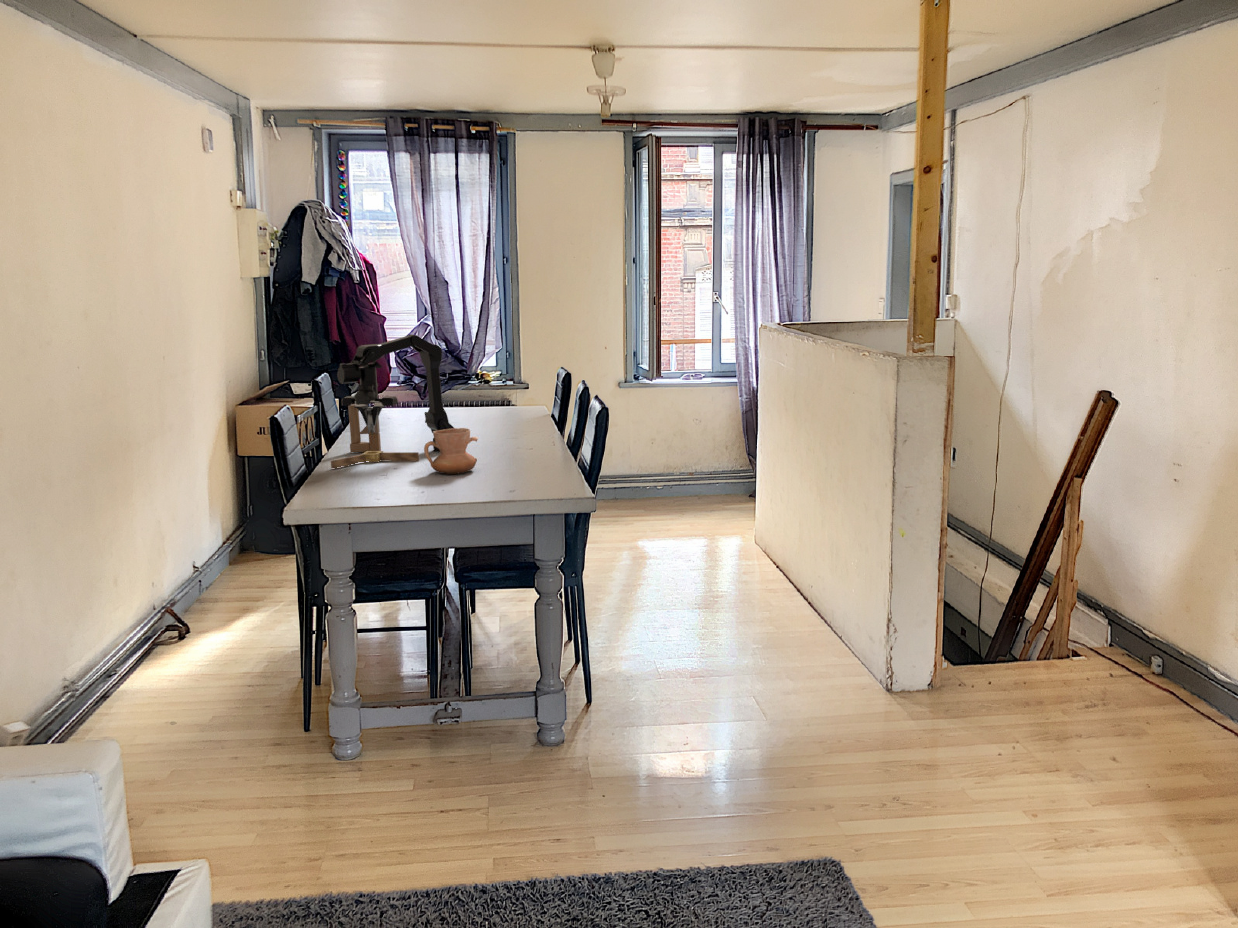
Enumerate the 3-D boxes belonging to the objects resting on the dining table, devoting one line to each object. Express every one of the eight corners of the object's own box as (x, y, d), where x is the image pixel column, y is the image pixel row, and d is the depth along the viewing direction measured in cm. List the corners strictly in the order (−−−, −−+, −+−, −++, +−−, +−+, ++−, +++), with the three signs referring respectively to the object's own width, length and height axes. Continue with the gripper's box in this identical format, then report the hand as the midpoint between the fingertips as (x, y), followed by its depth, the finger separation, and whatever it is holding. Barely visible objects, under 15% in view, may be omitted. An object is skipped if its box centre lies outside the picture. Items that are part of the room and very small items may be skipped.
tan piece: (421, 459, 365) (420, 451, 365) (404, 469, 347) (403, 461, 347) (351, 459, 369) (350, 451, 368) (330, 469, 351) (330, 461, 350)
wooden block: (379, 452, 381) (375, 404, 377) (350, 453, 380) (346, 405, 377) (381, 450, 384) (377, 403, 381) (352, 451, 384) (348, 404, 380)
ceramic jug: (476, 466, 351) (473, 425, 348) (483, 473, 337) (480, 431, 335) (423, 471, 346) (420, 430, 343) (428, 479, 332) (424, 436, 330)
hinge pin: (377, 431, 364) (375, 407, 362) (374, 432, 361) (372, 408, 359) (368, 431, 364) (367, 406, 363) (365, 432, 361) (363, 408, 360)
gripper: (334, 383, 353) (336, 428, 355) (386, 383, 350) (388, 428, 353) (346, 380, 363) (349, 423, 366) (397, 380, 361) (399, 424, 364)
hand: (371, 425), depth 362 cm, fingers closed on hinge pin, 2 cm apart
